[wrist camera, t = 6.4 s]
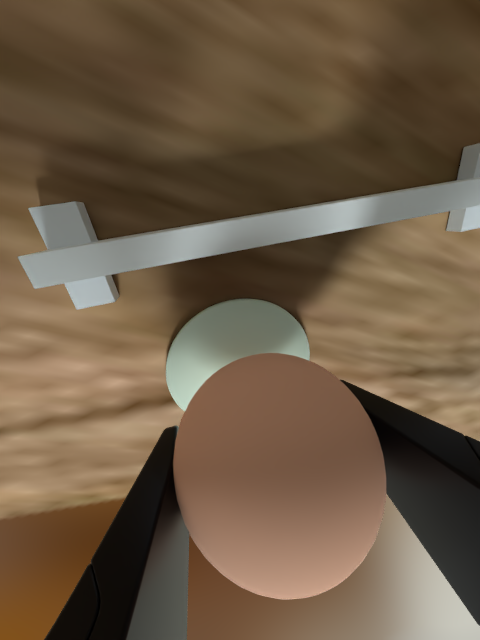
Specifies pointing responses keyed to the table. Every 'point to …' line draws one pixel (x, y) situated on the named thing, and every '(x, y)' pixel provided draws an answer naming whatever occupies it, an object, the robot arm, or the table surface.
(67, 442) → the table surface
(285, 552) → the ball
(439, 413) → the table surface
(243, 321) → the felt coaster
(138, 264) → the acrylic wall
